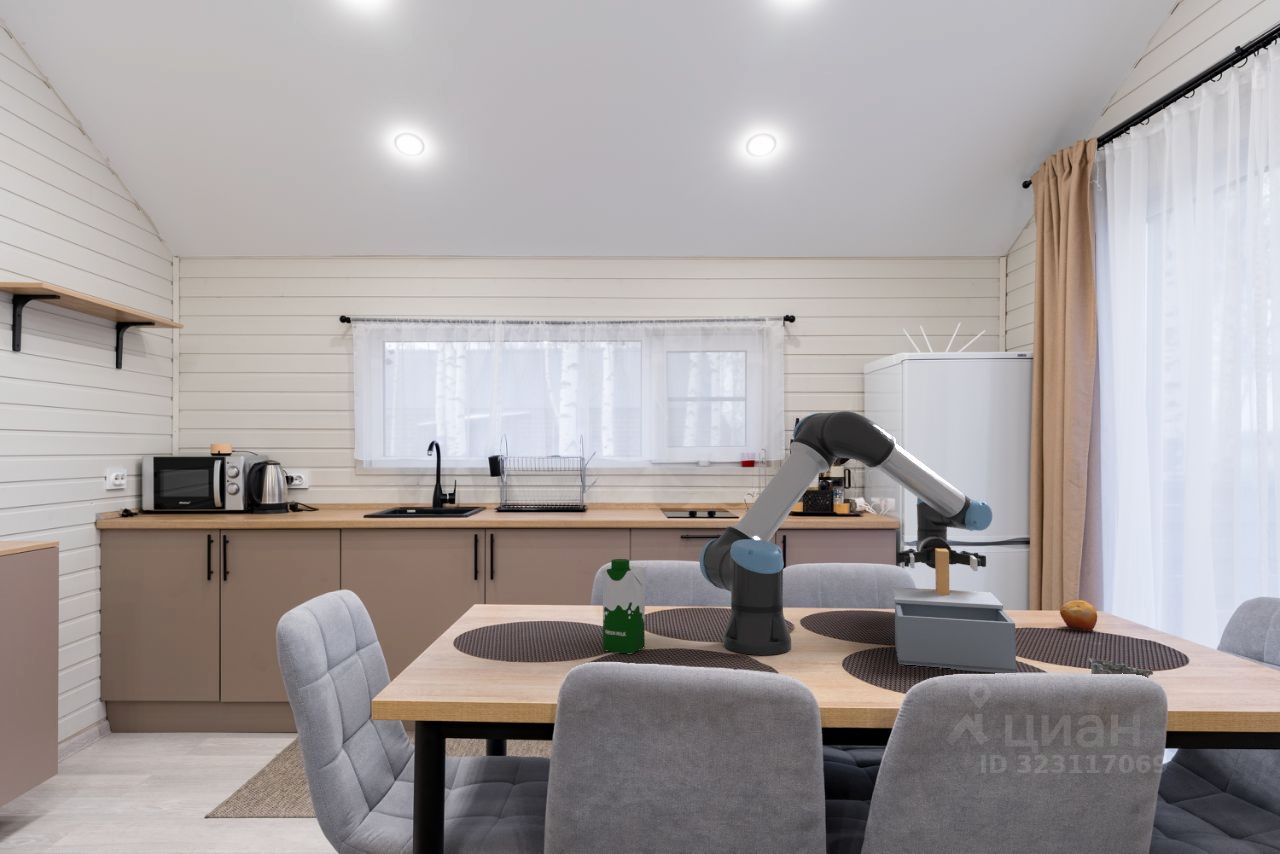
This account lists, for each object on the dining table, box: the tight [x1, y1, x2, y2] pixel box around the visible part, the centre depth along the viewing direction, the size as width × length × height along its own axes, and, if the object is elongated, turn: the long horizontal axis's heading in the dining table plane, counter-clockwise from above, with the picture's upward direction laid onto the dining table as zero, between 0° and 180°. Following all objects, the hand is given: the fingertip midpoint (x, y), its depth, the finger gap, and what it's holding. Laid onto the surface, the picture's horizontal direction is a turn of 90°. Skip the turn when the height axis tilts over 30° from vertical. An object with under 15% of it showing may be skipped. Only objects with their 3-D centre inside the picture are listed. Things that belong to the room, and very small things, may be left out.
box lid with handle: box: [892, 548, 1004, 610], centre depth 171 cm, size 22×16×11 cm
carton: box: [894, 602, 1017, 674], centre depth 158 cm, size 22×16×10 cm
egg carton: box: [1088, 657, 1154, 678], centre depth 142 cm, size 11×8×4 cm
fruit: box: [1059, 599, 1098, 632], centre depth 187 cm, size 8×8×8 cm
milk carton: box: [601, 558, 647, 654], centre depth 165 cm, size 9×9×20 cm
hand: (943, 563), depth 172 cm, fingers open, 13 cm apart
